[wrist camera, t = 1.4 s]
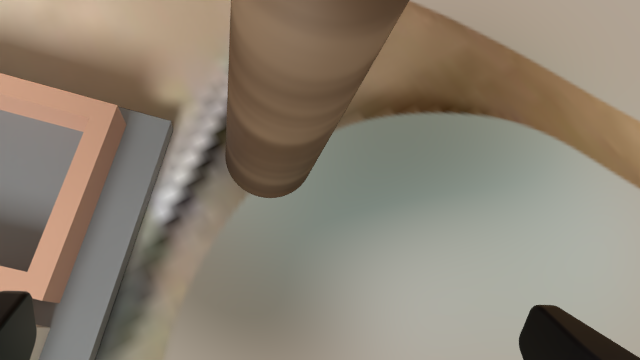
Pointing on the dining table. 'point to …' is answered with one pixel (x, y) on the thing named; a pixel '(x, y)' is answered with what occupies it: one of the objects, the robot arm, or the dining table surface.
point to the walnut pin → (295, 82)
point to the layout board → (71, 206)
